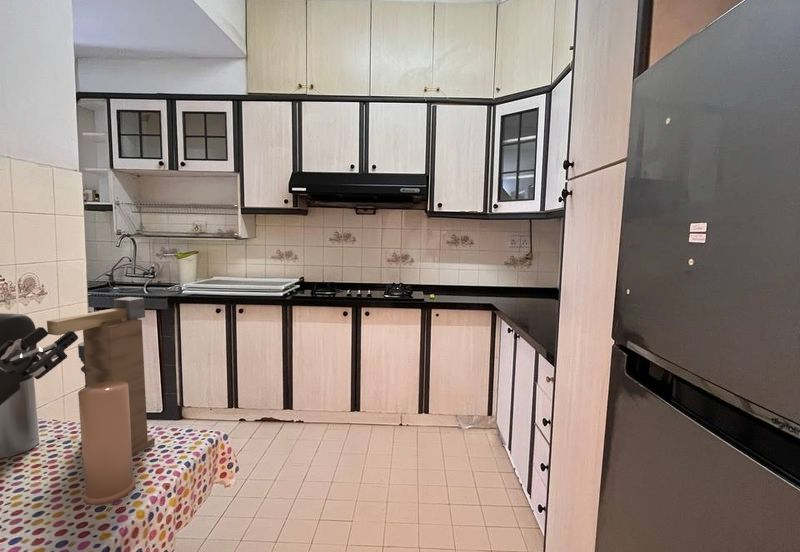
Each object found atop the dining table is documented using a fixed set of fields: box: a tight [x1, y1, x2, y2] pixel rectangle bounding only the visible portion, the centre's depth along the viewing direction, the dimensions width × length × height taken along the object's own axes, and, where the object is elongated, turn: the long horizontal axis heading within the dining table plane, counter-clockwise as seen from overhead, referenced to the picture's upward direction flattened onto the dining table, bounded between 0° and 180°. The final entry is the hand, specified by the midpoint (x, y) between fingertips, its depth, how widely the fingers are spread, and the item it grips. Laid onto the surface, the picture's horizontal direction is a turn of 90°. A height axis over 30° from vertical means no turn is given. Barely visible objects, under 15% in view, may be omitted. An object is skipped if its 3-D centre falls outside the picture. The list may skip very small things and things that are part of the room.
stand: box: [82, 318, 156, 458], centre depth 94 cm, size 10×10×33 cm
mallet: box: [46, 296, 146, 336], centre depth 89 cm, size 5×19×5 cm, turn 164°
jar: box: [77, 381, 136, 506], centre depth 80 cm, size 9×9×22 cm
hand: (59, 331), depth 81 cm, fingers open, 8 cm apart
